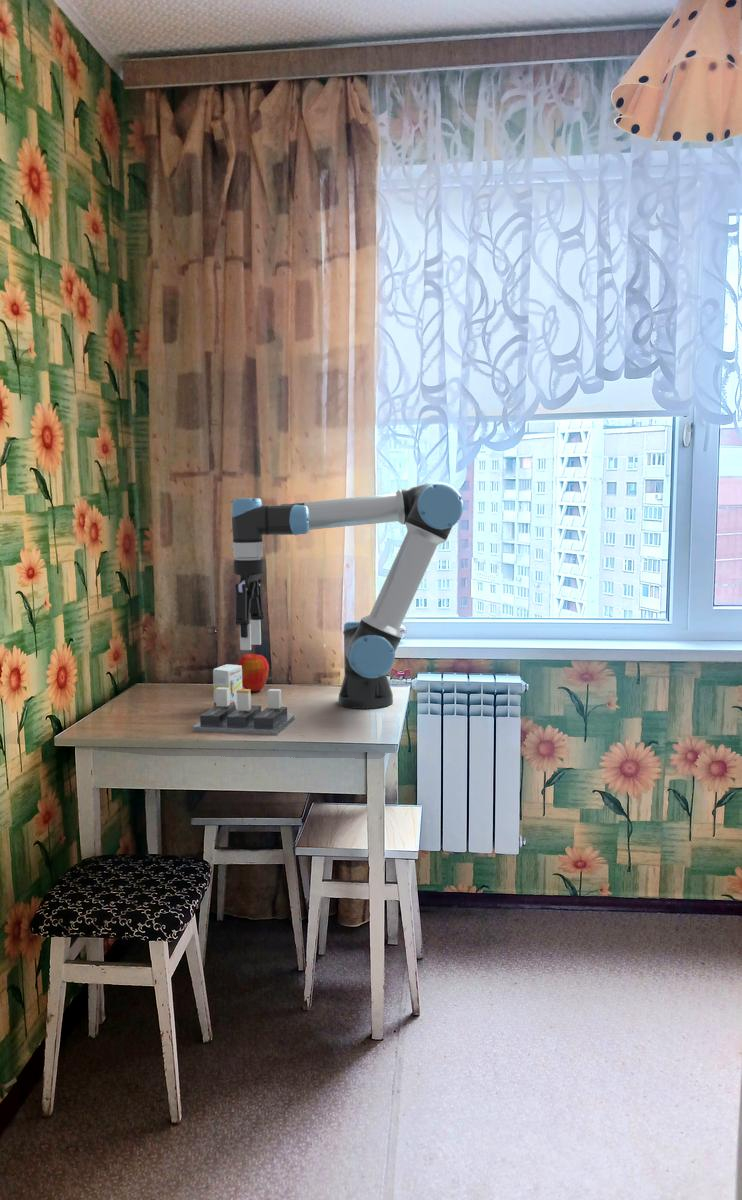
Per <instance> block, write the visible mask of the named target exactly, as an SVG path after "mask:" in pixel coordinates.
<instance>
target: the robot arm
mask: <svg viewBox="0 0 742 1200" xmlns="http://www.w3.org/2000/svg"><path fill="white" fill-rule="evenodd" d="M231 508H232V509H231V526H232V545H231V549H232V550H233V551H232V553H233V557H234V558H235V559H234V561H233V574H235V575H239V576H240V579H239V583H236V584H235V597H236V601H235V625H236V626H238V627H239V649H240V650H241V651H252V645H254V646H255V645H258V646H261V645H262V630H261V628H262V627H261V623H262V622H261V621H262V620H264V619H265V616H264V603H263V602H264V601H263V592H262V591H263V590H262V585H263V580H262V578H258V575H262V574H263V573H264V560H263V559H262V558H263V557H264V548H263V547H264V544H263V543H264V542H263V536H273V535H274V536H276V535H277V536H278V535H279V536H286V535H287V536H288V535H289V536H292V535H294V536H297V535H299V536H300V535H307V534H308V533H309V531H311V530H321V529H331V528H341V527H353V526H361V525H362V526H363V525H372V524H374V525H375V524H383V523H394V522H398V523H399V524H401V525H405V527H406V530H407V531H406V535H405V536H404V538H403V541H402V543H401V545H400V547H399V550H398V552H397V554H396V556H395V558H394V560H393V563H392V565H391V568H390V569H389V572H388V574H387V575H386V578H385V580H384V583H383V585H382V587H381V589H380V591H379V594H378V596H377V598H376V600H375V602H374V604H373V607H372V609H371V611H370V613H369V615H366V616H364V617H362V618H361V619H360V621H347V622H345V623H344V625H343V632H342V635H343V650H344V653H343V655H344V656H343V658H344V659H343V660H344V661H343V662H344V675H343V676H344V677H343V680H342V683H341V687H340V689H339V692H338V704H339V705H340V706H342V707H346V708H352V709H378V708H385V707H388V706H391V705H392V704H393V702H394V701H393V700H394V697H393V691H392V688H391V685H390V683H389V679H388V676H387V673H388V672H389V671H390V670H391V669H392V667H393V665H394V663H395V659H396V651H397V650H398V647H399V645H400V643H401V639H402V637H403V635H402V632H401V626H402V624H403V622H404V620H405V618H406V614H407V613H408V611H409V608H410V607H411V604H412V601H413V600H414V597H415V595H416V594H417V590H418V589H419V586H420V585H421V583H422V580H423V578H424V576H425V574H426V571H427V569H428V567H429V564H430V562H431V561H432V558H433V556H434V555H435V551H436V550H437V547H438V545H441V544H443V543H445V542H447V539H448V537H449V535H450V533H451V531H452V528H453V527H454V526H455V525H457V523H458V522H459V520H460V519H461V517H462V514H463V511H464V501H463V498H462V496H461V494H460V492H459V491H458V489H456V488H455V487H454V486H452V485H451V484H449V483H446V482H443V481H434V482H427V483H424V484H420V485H418V486H412V487H407V488H401V489H400V488H399V489H398V490H397V491H396V492H394V493H387V494H378V495H377V494H376V495H367V496H366V495H365V496H358V497H357V496H356V497H346V498H337V499H336V498H335V499H326V500H317V501H307V502H295V503H283V504H282V503H281V504H279V505H265V504H264V505H263V503H262V499H261V498H259V497H252V498H251V497H243V498H241V497H240V498H235V499H234V500H232V504H231ZM250 618H251V619H250Z"/></svg>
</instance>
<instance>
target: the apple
mask: <svg viewBox="0 0 742 1200" xmlns="http://www.w3.org/2000/svg"><path fill="white" fill-rule="evenodd" d="M251 651H252V650H251ZM237 665H241V666H242V688H243V689H251V692H259V691H261V690H262V689H263V688H264V687H265V685H266V683H267V680H268V677H269V669H270V665H269V662H268V660H267V658H266V657H265V656H263V654H257V653H254V651H252V653H247V654H244V655H242V657H240V659H239V660H238V663H237Z"/></svg>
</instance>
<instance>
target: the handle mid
mask: <svg viewBox="0 0 742 1200" xmlns="http://www.w3.org/2000/svg"><path fill="white" fill-rule="evenodd" d="M251 692H252V691H251V689H245V688H242V689H238V690H237V710H243V711H249V710H250V709H251V705H252V696H251V695H252V693H251Z"/></svg>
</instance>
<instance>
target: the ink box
mask: <svg viewBox="0 0 742 1200" xmlns="http://www.w3.org/2000/svg"><path fill="white" fill-rule="evenodd" d="M212 676H213V677H212V681H213V683H212V684H213V707H214V706H216V688H218V687H225V688H229V692H230V705H236V710H237V690H238V689H243V686H242V666H241V665H238V664H230V663H227V664H223V665H221V666H217V667H215V668H213V670H212Z"/></svg>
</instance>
